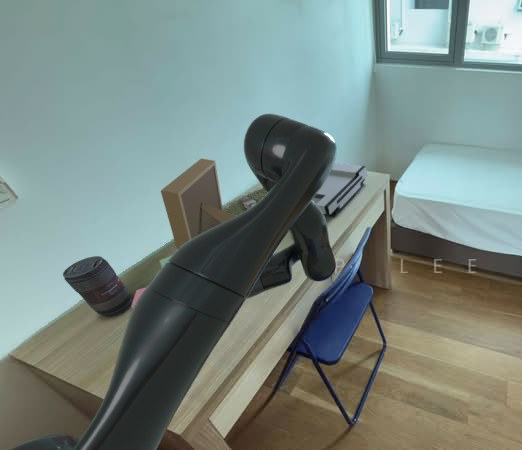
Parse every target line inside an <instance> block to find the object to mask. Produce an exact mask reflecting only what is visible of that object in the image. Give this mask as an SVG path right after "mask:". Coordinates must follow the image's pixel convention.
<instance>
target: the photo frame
mask: <svg viewBox="0 0 522 450" xmlns="http://www.w3.org/2000/svg"><path fill="white" fill-rule="evenodd" d="M219 183H220V182H219V176H218V170H217V163H216V160H212V159H207V158H200V159H199V160H197V161H196V162H195V163H193V164H192V165H191V166H190V167H188V168H186V170H185V171H183V172H182V173H181V174H179V175H178V176H177V177H175V178H174V179H173V180H172V181H171V182H170V183H168V184H167V185H166V186H165V187H163V188H162V189H161V190H160V194H161V197H162V201H163V205H164V208H165V212H166V215H167V219H168V222H169V226H170V230H171V233H172V237H173V240H174V244H175V247H176V251H177V250H178V249H179V248H180V247H181V246H182V245H183V244H185V243H186V242H188V241H189V240H191V239H193V238H194V237H196V236H197V235H199V234H201V233H203V232H205V231H207V230H209V229H211V228H213V227H215V226H217V225H219V224H221V223H223V222H225V221H227V220H229V219H232V218H234V217H236V216H237V215H236V214H233V213H231V212H228V211H226V210H224V209H223V201H222V196H221V188H220V184H219Z"/></svg>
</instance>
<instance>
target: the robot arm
mask: <svg viewBox="0 0 522 450" xmlns="http://www.w3.org/2000/svg"><path fill="white" fill-rule="evenodd" d="M337 149H338V148H337V143H336V140H335V139H334V138H333V137H332V135H331V134H330V133H328V132H326V131H325V130H322V129H320V128H318V127H316V126H313V125H310V124H306V123H303V122H300V121H298V120H295V119H292V118H290V117H287V116H284V115H279V114H275V113H263V114H260V115H259V116H257V117H256V118H254V120H253V121H251V123H250V124H249V126H248V128H247V130H246V132H245V136H244V140H243V154H244V157H245V160H246V163H247V165H248V167H249V169H250V171H251V172H252V173H253V175H254V176H255V178H256V179H257V180H258V182H259V183H260V185H261V186H262V187H263V189H264V190H265V192H266V194H265V195H264V196H263V197H262V198H261V199H260V200H259V201H258V202H256V204H255V205H254V206H253V207H251V208H250V209H248V210H247V209H246V210H244V211H243V212H241V213H239V214H237V215H236V217H234V218H232V219H229V220H227V221H225V222H223V223H221V224H219V225H217V226H215V227H213V228H211V229H209V230H207V231H205V232H203V233H201V234H199V235H197V236H196V237H194V238H193V239H191V240H189V241H188V242H186V243H185V244H183V245H182V246H181V247H180V248H179V249H178V250H177V249H176V251H174V253H173V254H172V255H170V256H171V257H170V259H169V260H168V261H169V262H166V264H165V265H164V266H163V267H161V269H160V270H159V271H158V272H157V274H156V275H155V276H154V278H153V279H152V280H151V281H150V283H149V284H148V285H147V286H146V287H147V288H146V289H145V291H144V292H143V293H142V295H141V296H140V298H139V299H138V301H137V303H136V304H135V306H134V308H132V310H131V314H129V315H130V316H129V318H128V321H127V324H126V327H125V330H124V334H123V337H122V340H121V344H120V347H119V350H118V355H117V358H116V361H115V366H114V369H113V372H112V376H111V379H110V383H109V386H108V388H107V391H106V394H105V395H104V398H103V400H102V402H101V404H100V406H99V407H98V410H97V411H96V413H95V415H94V417H93V418H92V420H91V422H90V423H89V425H88V427H86V430H85V431H84V432H83V434H82V435H81V436H78V435H74V434H69V433H68V434H50V435H46V436H41V437H36V438H34V439H30V440H27V441H25V442H22V443H20V444H18V445H15V446H13V447H11V448H9V449H8V450H157V449H158V447H159V445H160V443H161V441H162V439H163V438H164V436H165V434H166V432H167V429H168V428H169V426H170V424H171V422H172V421H173V419H174V417H175V415H176V413H177V412H178V409H179V408H180V407H181V404H182V402H183V401H184V399H185V398H186V396H187V394H188V392H189V391H190V389H191V387H192V386H193V384H194V382H195V381H196V380H197V378H198V376H199V375H200V372H201V370H202V369H203V367H204V366H205V364H206V362H207V361H208V359H209V358H210V356H211V355H212V353H213V351H214V349H215V347H217V345H218V343H219V342H220V340H221V339H222V337H223V336H224V334H225V333H226V331H227V330H228V328H229V327H230V325H231V324H232V322H233V321H234V319H235V317H236V316H237V315H238V313H239V312H240V310H241V308H242V307H243V305H244V303H245V302H246V301H247V299H251V298H254V297H256V296H258V295H260V294H262V293H265V292H267V291H270V290H273V289H276V288H279V287H282V286H284V285H287V284H289V283H291V282H292V280H293V266H294V265H295V264H297V263H298V262H299V261H300V264H301V266H302V270H303V273H304V276H305V277H306V278H307V279H308V280H310V281H313V282H323V281H327V280H328V279H330V277H332V276H333V275H334V273H335V271H336V269H337V262H336V258H335V255H334V253H333V252H334V251H333V249H332V246H331V243H330V236H329V229H328V224H327V219H326V217H325V214H323V212H322V211H321V209H320V208H319V206H318V205H317V204H316V202H315V201H314V200H313V198H314V197H315V196H316V194H317V193H318V191H319V190H320V189H321V187H322V186H323V184H324V183H325V181H326V180H327V178H328V176H329V174H330V172H331V170H332V168H333V165H334V163H336V162H335V161H336V158H337ZM288 233H289V234H290V237H291V239H292V244H290V245H289V246H287V247H285V248H283V249H281V250H280V251H278V252H276V251H277V249H278V247H279V246H280V244H281V243H282V242H283V240H284V239H285V237H286V235H287V234H288ZM275 252H276V253H275Z"/></svg>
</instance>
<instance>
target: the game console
mask: <svg viewBox="0 0 522 450" xmlns="http://www.w3.org/2000/svg"><path fill="white" fill-rule="evenodd" d="M367 177H368V174H367V166H366V165H358V164H348V163H340V162H334V165H333V168H332V170H331V172H330V174H329V176H328V178H327V180H326V181H325V183H324V184H323V186H322V187H321V189H320V190H319V191H318V193H317V194H316V196H315V197H314V198H313V200H314V201H315V202H316V204H317V205H318V206H319V208H320V209H321V211H322V212H323V214H324V215H326V216H327V215H328V216H335V217H336V216H338V214H339V213H340V212H341V211H342V210H343V209H344V208H345V207H346V205H347V204H348V203H350V201H351V200H352V199H353V198H354V197H355V196H356V195H357V193H358V192H359V191H361V190H362V188H363V187H364V185H365V184H364V182H365V181H366V178H367Z"/></svg>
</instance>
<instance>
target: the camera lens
mask: <svg viewBox="0 0 522 450" xmlns="http://www.w3.org/2000/svg"><path fill="white" fill-rule="evenodd" d="M62 276H63V278H64V281H65V282H66V283H67V284H68V285H69V286H70V287H71V288H72V289H73V290H74V291H75V292H76V293H77V294H79V296H80V297H81V298H82V299H83V300H84V301H85V302H86V304H87V305H88V306H89V307H90V308H91V309H92V310H93V311H94V312H96V313H97V314H99V315H101V316H103V317H104V318H114V317H117V316H120V315H121V314H124V313H125V312H126V311H127V310H129V309H130V308H132V307H131V306H132V303H133V299H134V298H133V297H132V293H131V292H130V290H129V288H128V287H127V285H126V284H125V283H124V282H123V281H122V280H121V278H120V277H118V275H117V273H116V272H115V270H114V268H113V267H112V265H111V264H110V263H109V262H108V260H106V259H104V257H102V256H99V255H95V256H89V257H86V258H83V259H79V260H78V261H76V262H74V263H72V264H71V265H70V266H68V267H67V268H66V269H64V271H63V272H62Z"/></svg>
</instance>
